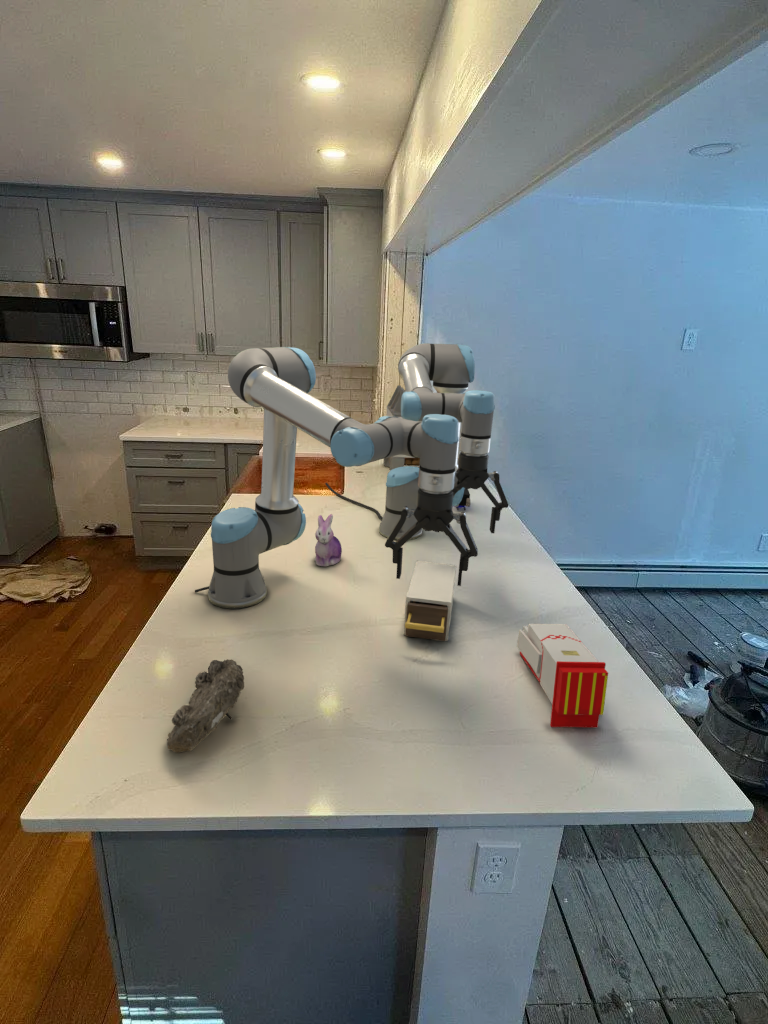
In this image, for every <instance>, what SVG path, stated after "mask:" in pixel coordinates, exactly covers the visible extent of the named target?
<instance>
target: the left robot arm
mask: <svg viewBox="0 0 768 1024" xmlns="http://www.w3.org/2000/svg"><path fill="white" fill-rule="evenodd" d="M227 380H228V384H229V387H230V389H231V390H232V392H233V393H234V394H235V396H237V397H238V398H239V399H240V400H241V401H243V402H244V403H246V404H247V405H249V406H251V407H252V408H263V431H262V433H263V434H262V463H261V466H262V467H261V492H260V494H259V495H257V496H256V497H255V500H254V509H253V508H251V507H246V506H238V507H237V508H236V507H231V508H227V509H224V510H222V511H221V512H219V513H217V514H216V515H215V516H214V517H213V518H212V520H211V527H210V529H211V530H210V538H211V546H212V547H211V548H212V562H213V573H212V576H211V579H210V583H209V586H204V587H200V588H198V589H194V593H199V592H203V591H206V590H207V595H208V596H207V597H208V601H209V602H210V603H211V604H212V605H214V606H216V607H219V608H223V609H244V608H249V607H253V606H255V605H258V604H259V603H261V602H262V601H263V600H265V598H266V597H267V595H268V592H267V591H268V589H267V584H266V581H265V579H264V578H265V577H264V575H263V573H262V572H261V569H260V558H259V557H260V556H259V555H260V554H263V553H267V552H269V551H271V550H273V549H276V548H279V547H282V546H288V545H290V544H291V543H293V542H295V541H297V540H298V539H300V538H301V536H302V535H303V534H304V533H305V530H306V525H307V518H306V513H304V508H303V507H302V505H301V504H300V503H299V499H298V498H297V497H296V496H295V495H294V488H295V472H296V471H295V469H296V454H297V453H296V452H297V438H298V437H297V435H298V430H300V431H302V432H303V433H305V434H306V435H308V436H310V437H312V438H314V439H315V440H316V441H319V442H320V443H321V444H323V445H325V446H327V447H328V448H330V452H331V455H332V458H334V460H335V461H336V464H338V465H340V466H342V467H345V468H351V467H361V466H364V465H366V464H369V463H374V462H377V461H380V460H384V459H385V458H388V457H392V456H396V455H406V456H411V457H415V458H420V463H419V465H420V466H418V468H419V480H418V486H419V487H420V488H419V489H418V495H417V508H416V509H415V510H414V509H409V508H408V507H407V506H404V507H403V510H402V513H401V518H400V519H399V521H398V522H397V524H396V526H395V527H394V529H393V531H392V532H391V534H390V536H389V537H388V538H386V541H385V543H384V547H385V548H389V549H391V550H392V561H391V562H392V564H396V577H395V578H396V580H400V579H401V576H402V568H403V567H402V565H403V551H404V550H403V549H404V548H403V546H404V545H405V544H406V543H407V542H408V541H410V540H409V539H410V538H411V537H412V536H413V535H415V534H416V533H417V532H418V531H419V530H421V529H422V530H424V531H425V532H433V533H441V532H440V531H443V532H442V533H443V534H445V535H446V536H447V538H448V539H449V540H450V541H451V542H452V544H453V545H454V546H455V548H456V549H457V551H458V552H459V555H460V556H459V566H458V574H457V575H458V576H457V585H456V586H458V587H461V586H462V578H463V572H468V570H469V563H470V561H469V560H470V558H473V557H474V558H476V557H478V556H479V548H478V546H477V543H476V542H475V539H474V537H473V534H472V532H471V530H470V527H469V524H468V522H467V512H466V511H461V512H459V513H457V512H455V513H454V512H453V506H452V502H453V492H452V489H453V488H454V480H455V463H456V454H457V444H458V441H459V437H458V425H459V423H458V420H457V419H456V418H455V417H453V416H450V415H441V414H429V415H425V416H424V417H423V420H422V422H417V421H412V420H407V419H402V418H398V417H395V416H393V417H389V416H386V415H383V416H380V417H379V418H378V419H377V420H376V421H374V422H373V423H367V424H366V423H365V424H364V423H362V422H360V421H358V420H357V419H354V418H352V417H350V416H349V415H347V414H346V413H343V412H342V411H340V410H338V409H336V408H335V407H333V406H331V405H329V404H328V403H326V402H323V401H322V400H320V399H318V398H317V397H315V396H313V395H311V394H310V392H312V390H313V389H314V388H315V385H316V380H317V374H316V367H315V364H314V363H313V360H312V359H311V358H310V356H309V355H308V354H307V353H306V352H305V351H304V350H302V349H301V348H298V347H291V346H277V347H260V348H259V347H255V348H247V349H244V350H241V351H240V352H239V353H237V354H236V355H235V356H234V357H233V358H232V359H231V361H230V363H229V365H228V369H227ZM412 515H414V517H415V518H416V520H417V522H416V523H415V524H414V525H413V526H412V527H411V528H410V529H409V530H408V531H407V532H406V533H405V534H404V535H403V536H402V537H401V538H400V539H398V540H395V537H396V536H397V534H398V533H399V531H400V529H401V528H402V526H403V524H404V523H405V521H406V519H409V518H410V517H411V516H412ZM454 520H455V521H456V523H457V524H458V525H459V526H460V530H461V532H462V534H463V536H464V539H465V541H466V544H467V546H468V547H467V546H466V544H465V543H464V542H463V540H462V539H461V538H460V536H459V535H458V534H457V532H456V531H455V530H454V528H453V527H452V525H451V524H450V523H452V521H454Z"/></svg>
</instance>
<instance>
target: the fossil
mask: <svg viewBox="0 0 768 1024" xmlns="http://www.w3.org/2000/svg"><path fill="white" fill-rule="evenodd" d="M243 670H244V669H243V667H242V665H240V664H237V662H236V661H235V660H234V659H232V658H231V659H227V658H226V659H224V660H223V661H222V660H217V659H212V660H211V661H210V663H209V665H208V666H207V671H201V672H199V673H198V674H197V675H196V676H195V680H194V684H195V685H194V687H195V689H194V690H193V693H192V694H191V697H190V698H189V700H188V704H184V705H182V706H181V707H180V709H177V710H176V711H175V713H174V715H173V716H172V718H171V723H172V724H173V727H172V730H171V731H170V732H168V734H167V738H166V741H167V742H166V745H167V749H168V750H169V751H173V752H174V753H176V754H178V753H182V752H188V751H189V752H192V751H193V750H195V748H196V747H197V746H199V744H200V743H201V742H203V741H204V740H205V739H206V738H207V737H208V736H209V735H210V734H211V733H212V732H214V730H215V729H217V727H218V726H219V724H220V722H221V721H222V720H223V719H224V718H225V716H226V717H227V719H229V720H233V717H232V715H230V714H229V710H230V709H231V708H234V706H235V704H236V703H237V702H238V699H239V697H240V695H241V693H242V691H243V690H245V689H244V688H245V675H244V671H243Z"/></svg>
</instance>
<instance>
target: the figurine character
mask: <svg viewBox="0 0 768 1024" xmlns="http://www.w3.org/2000/svg"><path fill="white" fill-rule="evenodd" d="M466 507H468V508H470V507H471V493H470V491H469V489H464V494H463V497H462V500H461V502H460V503H459V504H458V505H457V506H455V508H456V510H457V511H459V510H460V509H463V512H466V511H467V508H466Z"/></svg>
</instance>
